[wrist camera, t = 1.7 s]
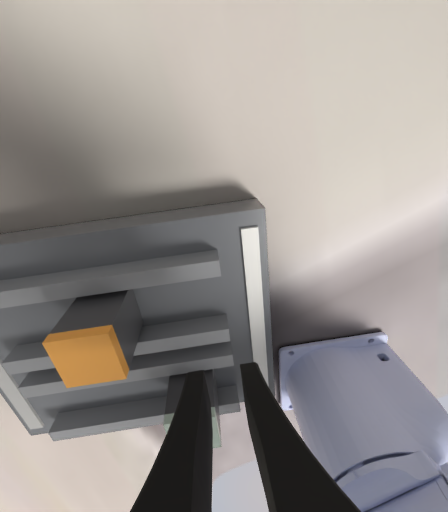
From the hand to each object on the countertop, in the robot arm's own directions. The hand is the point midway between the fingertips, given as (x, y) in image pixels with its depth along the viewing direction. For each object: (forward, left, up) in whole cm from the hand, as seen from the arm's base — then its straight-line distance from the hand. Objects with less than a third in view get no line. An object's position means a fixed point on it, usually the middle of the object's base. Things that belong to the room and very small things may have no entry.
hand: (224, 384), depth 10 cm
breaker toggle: (+6, 0, -7) cm, 9 cm away
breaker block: (+7, +3, -9) cm, 12 cm away
